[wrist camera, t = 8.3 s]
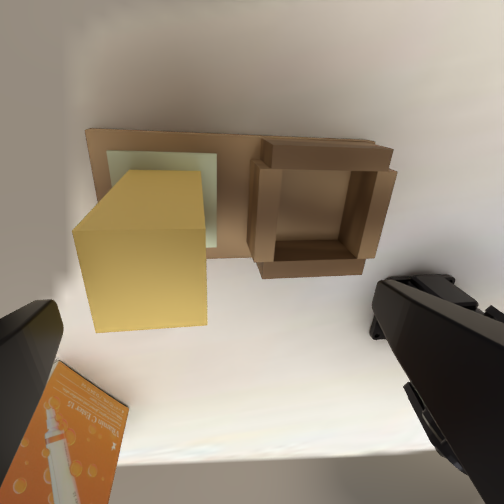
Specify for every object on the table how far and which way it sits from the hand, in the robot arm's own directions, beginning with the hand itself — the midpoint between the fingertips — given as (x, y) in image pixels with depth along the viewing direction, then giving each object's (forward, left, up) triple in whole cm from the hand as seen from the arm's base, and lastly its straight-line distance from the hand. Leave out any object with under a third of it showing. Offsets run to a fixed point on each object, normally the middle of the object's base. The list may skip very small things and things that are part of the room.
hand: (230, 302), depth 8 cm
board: (-1, -2, -13) cm, 13 cm away
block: (-1, +3, -11) cm, 12 cm away
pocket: (-1, -6, -13) cm, 14 cm away
